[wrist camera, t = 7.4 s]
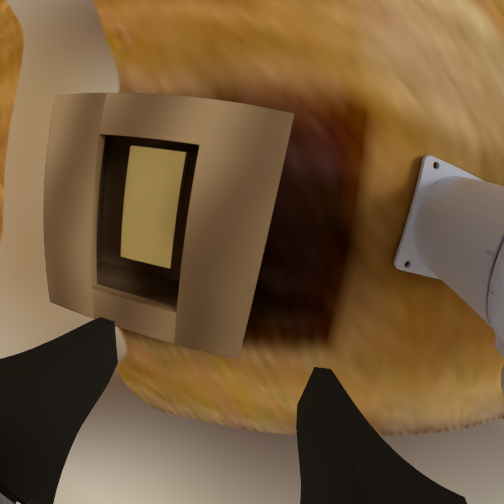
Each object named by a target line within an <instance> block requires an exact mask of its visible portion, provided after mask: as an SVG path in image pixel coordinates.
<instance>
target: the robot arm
mask: <svg viewBox="0 0 504 504" xmlns="http://www.w3.org/2000/svg"><path fill="white" fill-rule="evenodd" d="M434 162H436V164H437V167H436V168H434V167H433V164H434ZM407 261H409V263H408V265H407V266H404V265H405V262H407ZM394 266H395V267H396V268H397V269H399V270H403V271H407V272H411V273H415V274H419V275H424V276H428V277H432V278H436V279H440V280H442V281H443V282H444V283H445V284H446V285H448V286H449V287H450V288H451V289H452V290H453V291H454V292H455V293H456V294H457V295H458V296H459V297H460V298H462V299H463V300H464V301H465V302H466V303H467V304H468V305H469V306H470V307H471V308H472V309H473V310H474V311H475V312H476V313H477V314H478V315H479V316H480V317H481V318H482V319H483V320H484V321H485V322H486V323H487V324H488V325H489V326H490V327H491V328H492V329H493V330H494V332H495V336H496V340H495V345H494V346H495V348H496V349H497V350H498V351H499V352H500V353H501V355H502V356H503V357H504V186H501V185H497V184H493V183H489V182H485V181H483V180H481V179H479V178H477V177H475V176H474V175H472V174H470V173H468V172H466V171H464V170H462V169H459V168H457V167H455V166H453V165H451V164H449V163H447V162H445V161H442V160H440V159H438V158H436V157H433V156H430V155H426V156H424V157H423V159H422V163H421V168H420V172H419V176H418V181H417V185H416V189H415V193H414V196H413V200H412V204H411V207H410V211H409V214H408V218H407V221H406V225H405V228H404V231H403V234H402V238H401V241H400V244H399V247H398V250H397V253H396V256H395V259H394ZM117 364H118V360H117V350H116V336H115V321H112V320H109V319H106V318H103V317H99V318H97V319H95V320H93V321H90V322H88V323H86V324H84V325H82V326H80V327H78V328H76V329H74V330H72V331H70V332H68V333H66V334H64V335H62V336H60V337H58V338H56V339H54V340H52V341H49V342H47V343H44V344H42V345H40V346H38V347H35V348H33V349H30V350H28V351H25V352H22V353H19V354H16V355H13V356H9V357H6V358H2V359H0V504H16V502H17V501H18V502H19V503H21V504H53V502H54V498H55V493H56V489H57V486H58V483H59V479H60V476H61V473H62V470H63V467H64V464H65V462H66V459H67V456H68V454H69V451H70V449H71V446H72V444H73V442H74V440H75V437H76V435H77V433H78V431H79V429H80V428H81V426H82V424H83V423H84V421H85V419H86V418H87V416H88V415H89V413H90V411H91V410H92V408H93V407H94V405H95V403H96V402H97V401H98V399H99V397H100V396H101V394H102V392H103V391H104V390H105V388H106V386H107V385H108V383H109V381H110V379H111V377H112V375H113V372H114V370H115V368H116V366H117ZM501 386H502V391H503V395H504V365H503V369H502V373H501ZM296 429H297V440H298V451H299V463H300V475H301V500H300V504H467V503H466V500H465V497H463V496H460V495H458V494H456V493H454V492H452V491H450V490H448V489H446V488H444V487H442V486H441V485H439V484H437V483H435V482H434V481H432V480H431V479H429V478H428V477H426V476H425V475H423V474H422V473H420V472H419V471H418V470H416V469H415V468H414V467H413V466H411V465H410V464H409V463H407V462H406V461H405V460H404V459H403V458H402V457H401V456H399V455H398V454H397V453H396V452H395V451H394V450H393V449H392V448H391V447H390V446H389V445H388V444H387V443H386V442H385V441H384V440H383V439H382V438H381V437H380V435H379V434H378V433H377V432H376V431H375V430H374V428H373V427H372V426H371V425H370V424H369V422H368V421H367V420H366V419H365V417H364V416H363V415H362V413H361V412H360V411H359V409H358V408H357V407H356V405H355V404H354V402H353V401H352V400H351V398H350V397H349V395H348V394H347V392H346V391H345V389H344V388H343V386H342V385H341V383H340V382H339V380H338V379H337V377H336V376H335V374H334V373H333V372H332V370H331V369H326V368H318V367H314V369H313V372H312V374H311V376H310V378H309V381H308V383H307V385H306V387H305V389H304V392H303V394H302V396H301V398H300V400H299V402H298V404H297V427H296Z"/></svg>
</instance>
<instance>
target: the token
mask: <svg viewBox="0 0 504 504" xmlns="http://www.w3.org/2000/svg"><path fill="white" fill-rule="evenodd" d="M197 156H198V151H193V150H186V149H179V148H172V147H164V146H131V147H130V154H129V161H128V168H127V176H126V185H125V195H124V206H123V219H122V235H121V257H124V258H128V259H132V260H136V261H140V262H144V263H149V264H153V265H157V266H161V267H165V268H169V269H171V267H172V266H173V265H174V264H175V263H176V261H177V260H178V259H179V258H180V257H181V256H182V254H183V247H184V240H185V232H186V225H187V218H188V211H189V204H190V198H191V191H192V185H193V179H194V173H195V167H196V162H197Z"/></svg>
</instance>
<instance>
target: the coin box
mask: <svg viewBox="0 0 504 504" xmlns="http://www.w3.org/2000/svg"><path fill="white" fill-rule="evenodd" d="M293 117H294V114H293V113H289V112H284V111H279V110H275V109H270V108H264V107H259V106H254V105H248V104H242V103H236V102H229V101H222V100H215V99H207V98H198V97H188V96H177V95H164V94H145V93H84V94H66V95H55V99H54V104H53V110H52V115H51V122H50V129H49V136H48V144H47V154H46V164H45V179H44V245H45V261H46V272H47V281H48V290H49V298H50V302H52V303H54V304H57V305H59V306H62V307H64V308H67V309H69V310H72V311H75V312H77V313H80V314H82V315H85V316H88V317H91V318H93V319H97V318H99V317H103V318H106V319H109V320H112V321H115V326H116V327H120V328H123V329H126V330H129V331H132V332H135V333H138V334H142V335H145V336H148V337H152V338H155V339H159V340H162V341H166V342H169V343H173V344H177V345H181V346H184V347H188V348H192V349H196V350H200V351H204V352H209V353H213V354H217V355H222V356H226V357H231V358H236V359H239V356H240V352H241V347H242V343H243V339H244V335H245V331H246V326H247V322H248V318H249V314H250V309H251V305H252V301H253V296H254V292H255V288H256V284H257V279H258V275H259V271H260V266H261V262H262V258H263V253H264V249H265V244H266V240H267V236H268V231H269V227H270V222H271V218H272V213H273V209H274V204H275V200H276V195H277V191H278V186H279V182H280V177H281V173H282V168H283V164H284V159H285V155H286V150H287V145H288V141H289V136H290V131H291V127H292V122H293ZM131 146H164V147H172V148H179V149H186V150H193V151H198V156H197V162H196V167H195V173H194V179H193V185H192V191H191V198H190V204H189V211H188V218H187V225H186V232H185V240H184V247H183V254H182V256H181V257H180V258H179V259H178V260H177V261H176V263H175V264H174V265H173V266H172V267H171V269H169V268H165V267H161V266H157V265H153V264H149V263H144V262H140V261H136V260H132V259H128V258H124V257H121V235H122V219H123V206H124V195H125V185H126V176H127V168H128V161H129V154H130V147H131Z"/></svg>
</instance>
